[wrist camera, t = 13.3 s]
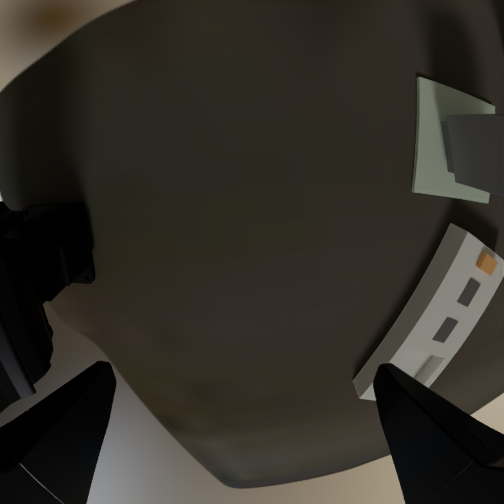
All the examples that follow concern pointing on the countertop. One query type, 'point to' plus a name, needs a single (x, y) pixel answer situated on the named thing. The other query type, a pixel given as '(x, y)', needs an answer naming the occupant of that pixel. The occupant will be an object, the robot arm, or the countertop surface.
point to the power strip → (438, 311)
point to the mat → (441, 140)
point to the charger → (476, 150)
